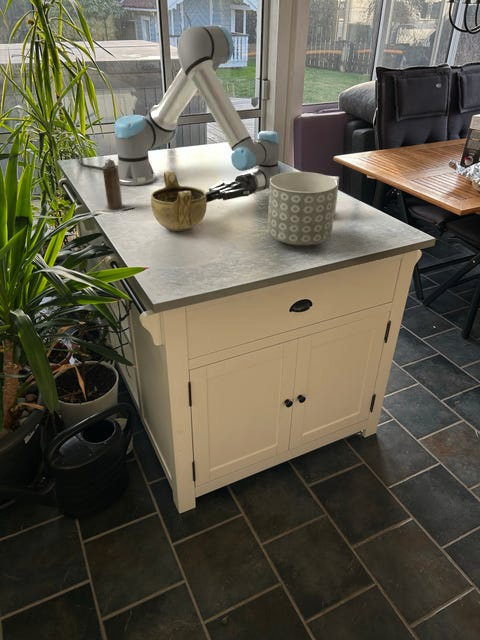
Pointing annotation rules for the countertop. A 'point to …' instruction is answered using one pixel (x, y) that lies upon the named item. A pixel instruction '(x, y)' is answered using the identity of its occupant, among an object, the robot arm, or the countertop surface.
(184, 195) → the ceramic bowl
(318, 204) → the planter
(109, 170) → the pepper mill
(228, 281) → the countertop surface
